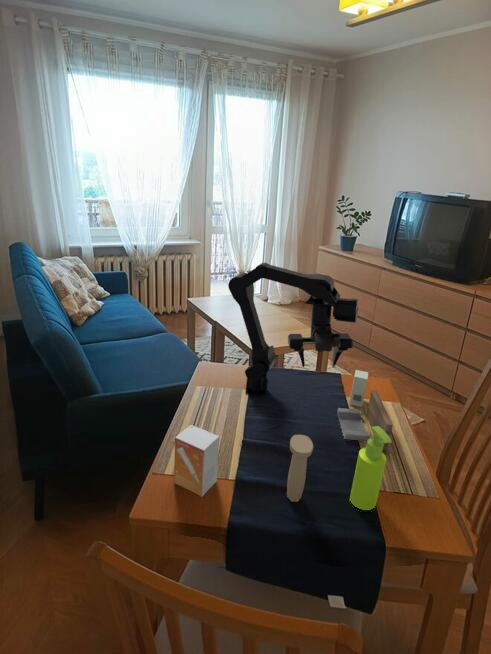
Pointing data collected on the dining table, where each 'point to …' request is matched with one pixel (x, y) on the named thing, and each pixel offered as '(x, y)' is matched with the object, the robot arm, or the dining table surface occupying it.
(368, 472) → the soap dispenser
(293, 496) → the handle
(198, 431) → the small box
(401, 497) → the dining table surface
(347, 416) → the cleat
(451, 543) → the dining table surface
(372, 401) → the wall board
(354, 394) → the sage green block
